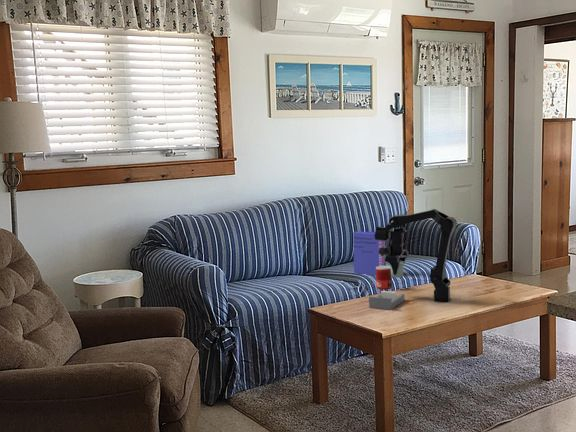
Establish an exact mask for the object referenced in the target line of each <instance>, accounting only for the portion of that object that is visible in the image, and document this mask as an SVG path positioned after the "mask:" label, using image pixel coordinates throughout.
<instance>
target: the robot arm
mask: <svg viewBox="0 0 576 432" xmlns="http://www.w3.org/2000/svg"><path fill="white" fill-rule="evenodd" d="M430 219H432V220H433V221H434V222H435V223H437V224H438V225H439V226H440V233H441V236H440V237H441V238H440V243H439V249H438V253H437V259H436V263H435V266H433V267H431V268H430V275H429V276H428V277H429V280H430V282H431V284H433V287H434V290H433V301H434V302H439V303H440V302H442V303H449V301H451V299H452V298H451V287H450V286H451V282H452V281H451V280H450V279H449V278H448V277H447V269H446V264H447V258H448V254H449V249H450V245H451V244H450V243H451V239H452V236H453V234H454V232H455V230H456V227H457V225H458V221H457V219H456V218H455V217H453V216H449V215H447V214H446V213H444V212H442V211H439V210H438V209H436V208H433V209H431V210H430V209H429V210H424V211H420V212H416V213H411V214H395V215H393V216H391V217H390V218H389V220H388V224H387V225H386V226H376V227H375V231H374V232H375V234H374V236H375V240H376V241H385V242H388V241H389V240H390V243H389V244H388V246H385V248H384V247H382V248H379V254H380V255H381V256H383V255H385V254H386V257H385V262H386V263H388V264H389V265H390V267H392V270H393V274H394V275H396V274H397V271H398V267H399V264H400V261H399V260H402V261H403V266H404V265H405V262H406V260H407V257H408V256H409V255H410V254H409V253H410V252H409V250H407V249H404V247H403V246H405V242H403V241H404V239H403V237H404V236H403V235H404V233H406V232H408V230H407V229H405V227H403V226H404V225H407V224H410V223H414V222H415V223H416V222H419V221H425V220H430ZM393 229H394V230H393Z"/></svg>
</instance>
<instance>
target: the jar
mask: <svg viewBox="0 0 576 432" xmlns="http://www.w3.org/2000/svg"><path fill="white" fill-rule="evenodd" d="M399 261H400V264H399V267H398V271H397V274H396V275H394V274H393V270H392V267H391V266H390V267H391V277H392V278H404V265H403V261H402V260H399Z"/></svg>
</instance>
